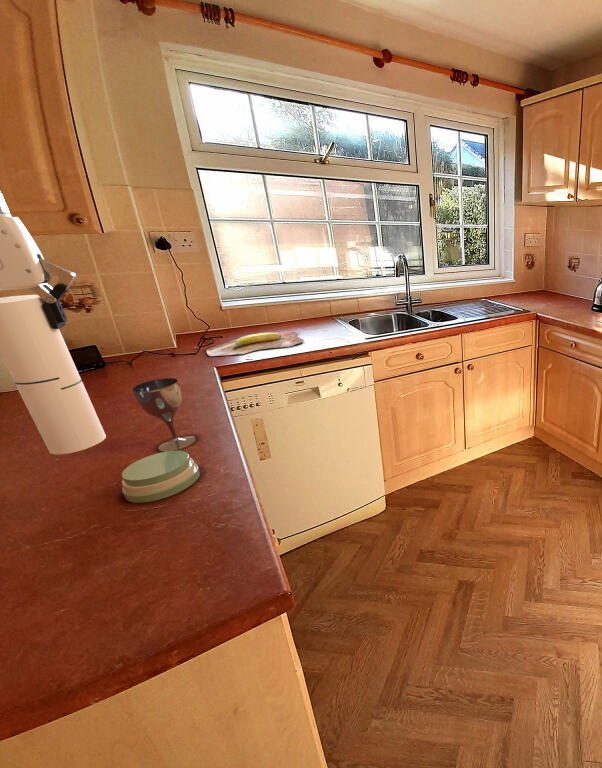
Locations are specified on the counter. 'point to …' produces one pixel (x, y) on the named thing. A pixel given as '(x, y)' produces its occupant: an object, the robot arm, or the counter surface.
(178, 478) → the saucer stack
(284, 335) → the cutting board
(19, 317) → the cylindrical container
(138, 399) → the wine glass
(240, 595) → the counter surface
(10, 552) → the counter surface
